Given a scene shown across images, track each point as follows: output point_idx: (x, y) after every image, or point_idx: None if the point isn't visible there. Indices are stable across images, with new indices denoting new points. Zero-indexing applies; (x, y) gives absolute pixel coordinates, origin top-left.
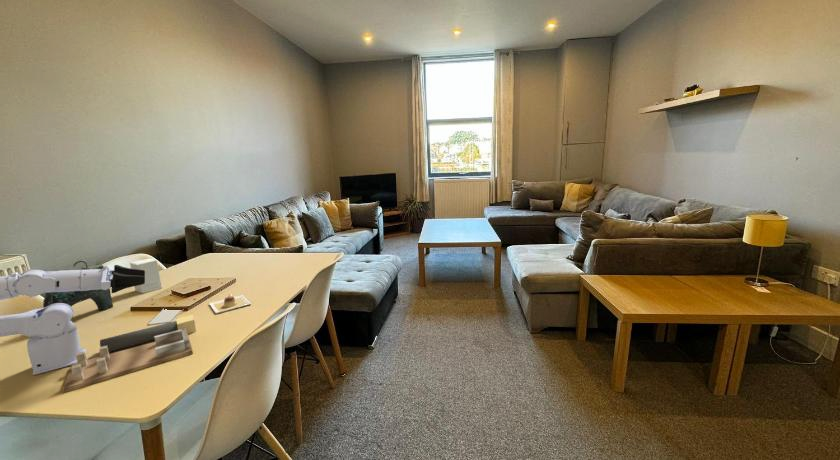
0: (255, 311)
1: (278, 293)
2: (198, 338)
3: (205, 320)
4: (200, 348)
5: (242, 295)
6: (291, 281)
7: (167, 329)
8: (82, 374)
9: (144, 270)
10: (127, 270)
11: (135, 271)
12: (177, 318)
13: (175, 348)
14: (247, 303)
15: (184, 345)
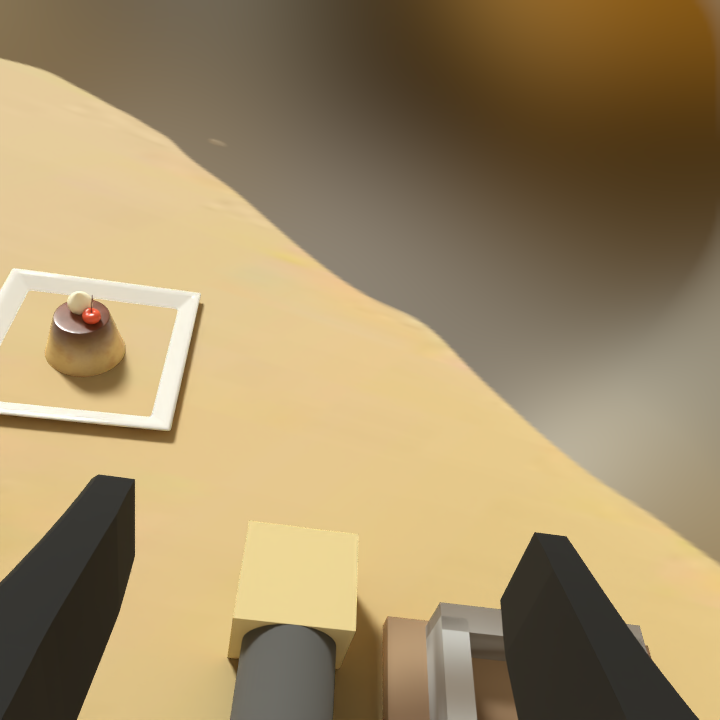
0: (305, 320)
1: (162, 198)
2: (457, 589)
3: (212, 498)
4: None
5: (25, 272)
6: (58, 121)
7: (330, 706)
8: None
9: (109, 479)
10: (24, 715)
11: (80, 597)
12: (237, 608)
13: None
14: (168, 301)
15: None
